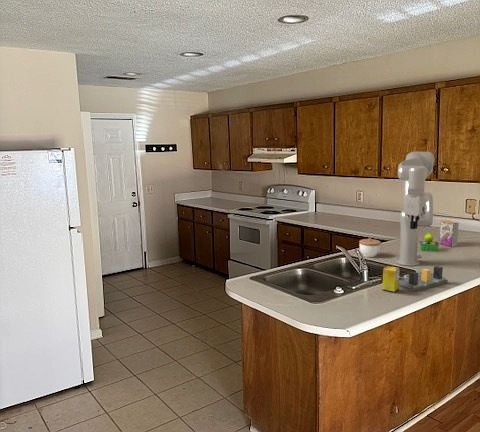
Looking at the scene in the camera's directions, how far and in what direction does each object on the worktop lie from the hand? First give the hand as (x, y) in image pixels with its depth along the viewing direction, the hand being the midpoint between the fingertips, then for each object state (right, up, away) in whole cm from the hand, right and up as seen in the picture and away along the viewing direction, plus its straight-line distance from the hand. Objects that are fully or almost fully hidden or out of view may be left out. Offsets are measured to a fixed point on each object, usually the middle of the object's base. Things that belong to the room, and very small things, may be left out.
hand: (413, 228), depth 222 cm
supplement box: (-15, -30, -9) cm, 34 cm away
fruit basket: (+34, -16, +63) cm, 74 cm away
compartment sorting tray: (+3, -27, +1) cm, 28 cm away
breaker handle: (+5, -26, -3) cm, 27 cm away
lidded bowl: (-7, -18, +52) cm, 55 cm away
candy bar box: (+53, -13, +76) cm, 93 cm away
